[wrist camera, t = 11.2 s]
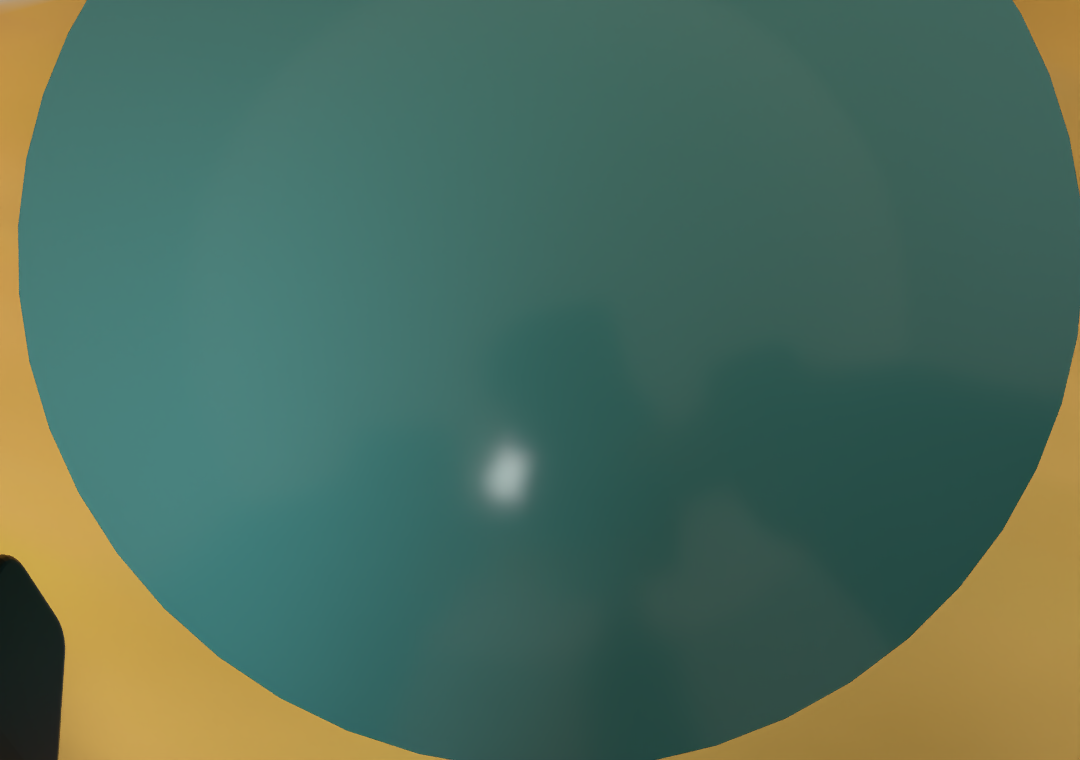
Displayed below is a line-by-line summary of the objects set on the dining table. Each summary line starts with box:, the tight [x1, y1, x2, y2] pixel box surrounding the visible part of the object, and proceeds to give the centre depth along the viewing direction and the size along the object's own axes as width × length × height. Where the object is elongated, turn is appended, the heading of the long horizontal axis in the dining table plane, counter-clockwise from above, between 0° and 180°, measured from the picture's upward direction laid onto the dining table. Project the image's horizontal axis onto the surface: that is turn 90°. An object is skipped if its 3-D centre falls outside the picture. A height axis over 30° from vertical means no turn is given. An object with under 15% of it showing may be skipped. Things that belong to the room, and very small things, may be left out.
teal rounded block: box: [18, 0, 1080, 760], centre depth 12 cm, size 6×6×13 cm
